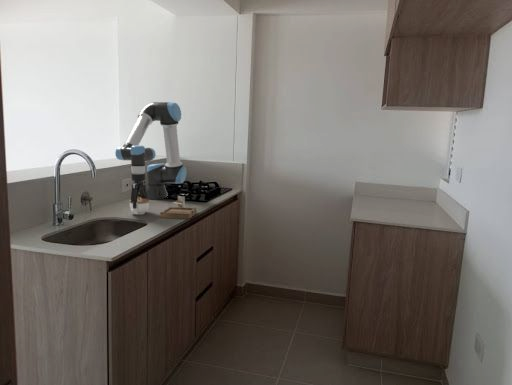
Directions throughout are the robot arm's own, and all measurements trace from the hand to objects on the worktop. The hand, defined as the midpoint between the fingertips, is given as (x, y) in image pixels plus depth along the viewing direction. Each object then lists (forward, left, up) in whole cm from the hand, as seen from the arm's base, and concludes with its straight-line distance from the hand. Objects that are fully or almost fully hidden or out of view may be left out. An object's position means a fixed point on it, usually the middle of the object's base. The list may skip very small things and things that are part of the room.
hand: (139, 211), depth 241 cm
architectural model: (-20, +18, -2) cm, 27 cm away
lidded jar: (0, 0, -1) cm, 1 cm away
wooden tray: (0, +23, -1) cm, 23 cm away
